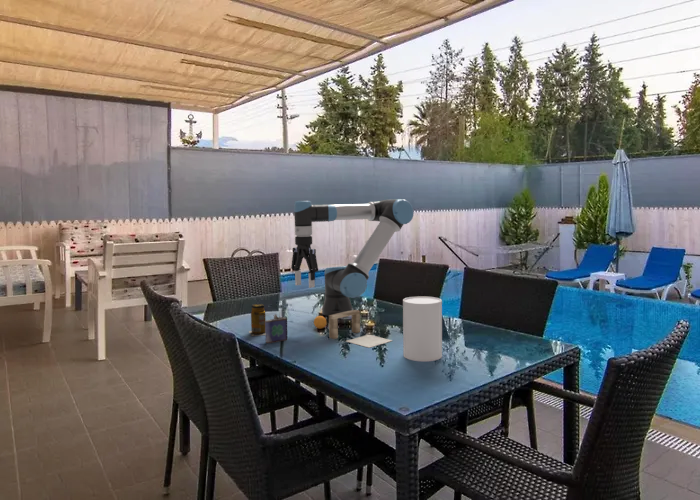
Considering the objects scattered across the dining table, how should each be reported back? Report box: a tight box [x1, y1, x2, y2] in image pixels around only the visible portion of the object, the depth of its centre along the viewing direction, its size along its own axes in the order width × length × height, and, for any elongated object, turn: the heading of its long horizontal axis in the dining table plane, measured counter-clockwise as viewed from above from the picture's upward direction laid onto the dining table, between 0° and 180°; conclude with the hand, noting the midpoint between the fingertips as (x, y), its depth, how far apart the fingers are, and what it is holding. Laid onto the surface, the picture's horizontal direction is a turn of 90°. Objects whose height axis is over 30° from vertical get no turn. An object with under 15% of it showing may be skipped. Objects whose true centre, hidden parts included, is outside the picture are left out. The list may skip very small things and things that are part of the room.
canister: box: [402, 295, 443, 362], centre depth 184 cm, size 14×14×20 cm
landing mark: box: [345, 334, 393, 349], centre depth 205 cm, size 13×13×1 cm
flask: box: [265, 313, 288, 344], centre depth 207 cm, size 9×3×11 cm, turn 121°
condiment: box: [248, 303, 267, 337], centre depth 220 cm, size 7×8×12 cm
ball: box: [313, 315, 327, 330], centre depth 226 cm, size 6×6×6 cm
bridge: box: [328, 309, 361, 340], centre depth 215 cm, size 3×14×9 cm, turn 133°
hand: (305, 286), depth 232 cm, fingers open, 9 cm apart
